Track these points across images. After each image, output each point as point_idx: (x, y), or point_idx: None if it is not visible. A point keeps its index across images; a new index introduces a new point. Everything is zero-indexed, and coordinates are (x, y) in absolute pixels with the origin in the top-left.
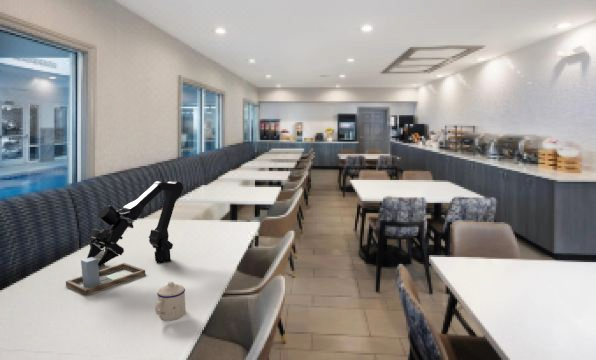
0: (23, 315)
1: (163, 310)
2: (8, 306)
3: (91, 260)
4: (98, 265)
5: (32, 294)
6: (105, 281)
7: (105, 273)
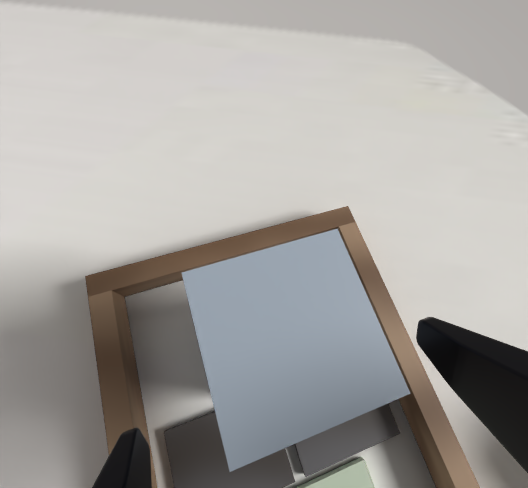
0: (94, 51)
1: None
2: (234, 31)
3: (217, 353)
4: (137, 434)
5: (310, 98)
6: None
7: (434, 477)
